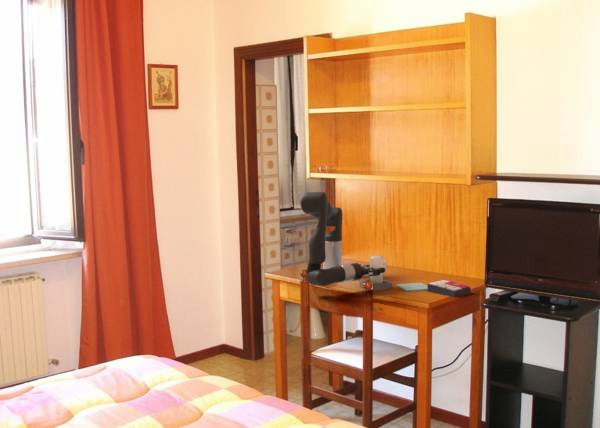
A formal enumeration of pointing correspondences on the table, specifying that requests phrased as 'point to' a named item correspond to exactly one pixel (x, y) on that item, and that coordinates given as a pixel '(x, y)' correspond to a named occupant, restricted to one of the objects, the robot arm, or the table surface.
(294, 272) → the table surface
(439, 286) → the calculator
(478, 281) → the table surface
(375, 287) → the holder
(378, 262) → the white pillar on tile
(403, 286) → the coaster pad
